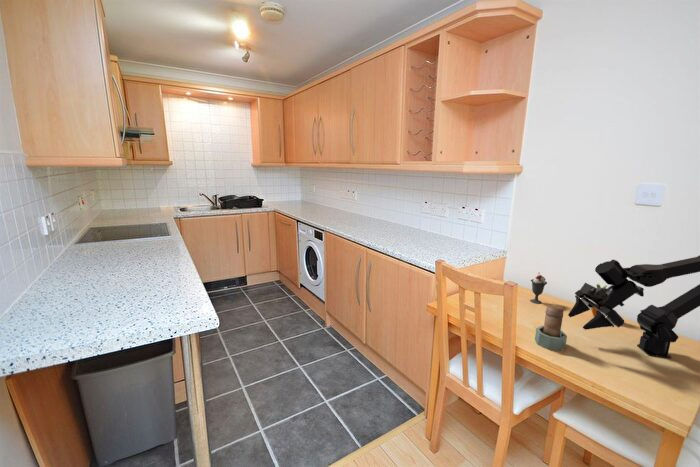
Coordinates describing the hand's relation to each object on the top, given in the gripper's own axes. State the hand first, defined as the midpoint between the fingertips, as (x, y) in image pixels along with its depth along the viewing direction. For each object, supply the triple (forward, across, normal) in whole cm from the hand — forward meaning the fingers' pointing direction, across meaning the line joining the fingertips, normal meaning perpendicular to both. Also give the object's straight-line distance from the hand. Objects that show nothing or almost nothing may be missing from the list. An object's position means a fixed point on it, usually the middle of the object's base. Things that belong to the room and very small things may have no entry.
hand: (576, 322), depth 109 cm
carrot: (-9, -25, +22) cm, 35 cm away
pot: (+12, 0, +1) cm, 12 cm away
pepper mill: (+11, 0, +1) cm, 11 cm away
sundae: (+4, -39, +9) cm, 40 cm away
